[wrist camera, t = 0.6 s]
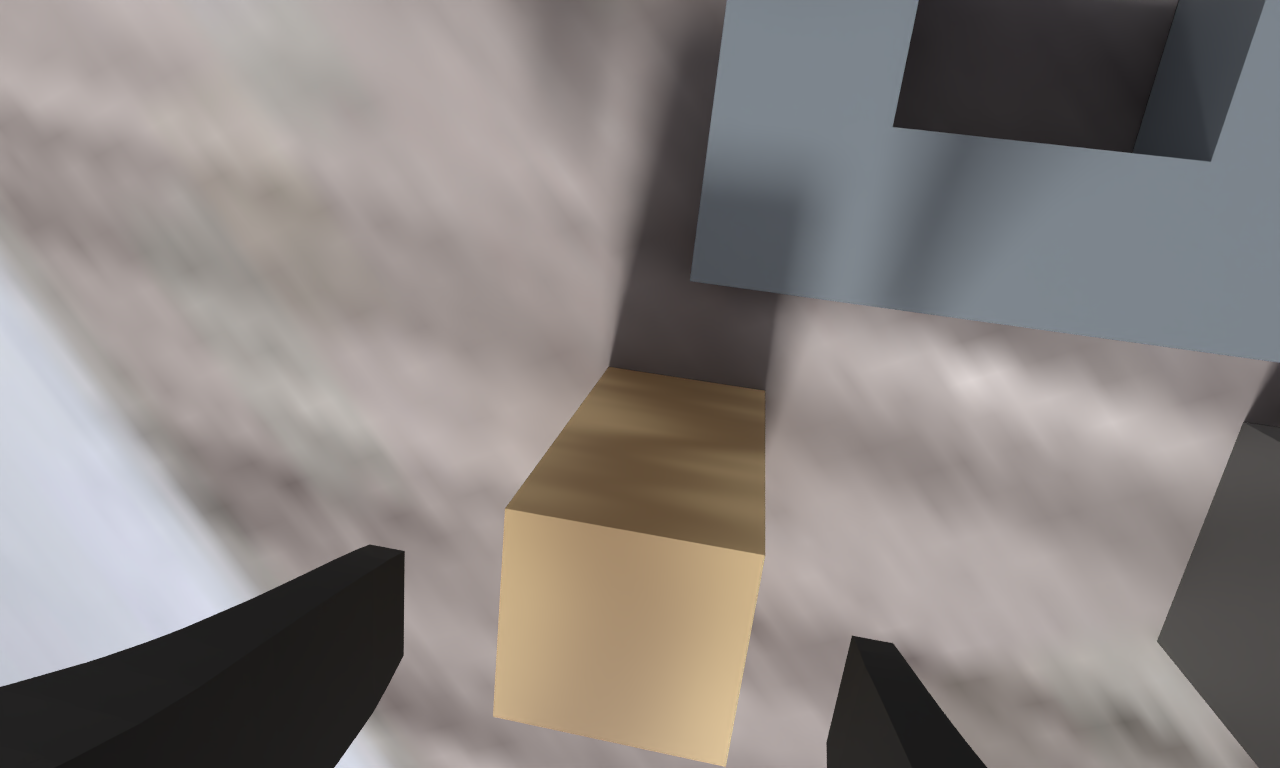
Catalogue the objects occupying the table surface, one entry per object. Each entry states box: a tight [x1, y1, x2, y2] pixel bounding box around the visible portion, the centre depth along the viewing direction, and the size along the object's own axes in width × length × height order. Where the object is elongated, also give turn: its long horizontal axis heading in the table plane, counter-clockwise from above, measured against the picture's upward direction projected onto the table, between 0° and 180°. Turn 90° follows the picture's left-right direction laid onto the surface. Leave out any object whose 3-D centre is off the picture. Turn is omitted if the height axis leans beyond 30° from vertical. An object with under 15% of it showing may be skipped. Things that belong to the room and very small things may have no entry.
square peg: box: [493, 367, 765, 767], centre depth 16 cm, size 4×4×8 cm
